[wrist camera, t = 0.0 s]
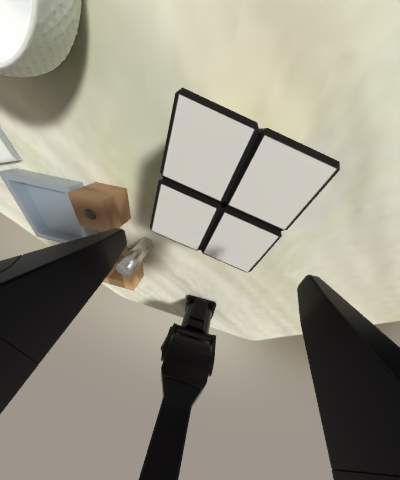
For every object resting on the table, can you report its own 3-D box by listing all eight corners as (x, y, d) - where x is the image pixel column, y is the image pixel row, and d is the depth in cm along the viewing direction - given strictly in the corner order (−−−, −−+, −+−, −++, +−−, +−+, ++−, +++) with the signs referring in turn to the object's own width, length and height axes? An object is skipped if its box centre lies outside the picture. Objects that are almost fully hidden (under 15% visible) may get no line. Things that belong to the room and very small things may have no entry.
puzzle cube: (246, 223, 22) (249, 276, 14) (181, 195, 22) (147, 232, 14) (296, 147, 16) (348, 164, 8) (208, 107, 16) (174, 83, 8)
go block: (143, 275, 34) (133, 290, 31) (114, 267, 35) (101, 281, 32) (140, 251, 30) (128, 265, 27) (107, 243, 31) (92, 256, 28)
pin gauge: (153, 249, 29) (132, 277, 24) (141, 246, 29) (117, 274, 24) (152, 239, 28) (130, 266, 22) (140, 236, 28) (114, 262, 22)
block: (131, 218, 26) (110, 234, 22) (104, 211, 27) (79, 226, 23) (127, 188, 23) (102, 200, 19) (96, 182, 24) (66, 192, 20)
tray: (101, 243, 31) (92, 250, 29) (49, 230, 33) (37, 236, 31) (82, 182, 24) (68, 187, 22) (16, 168, 25) (-2, 171, 24)
